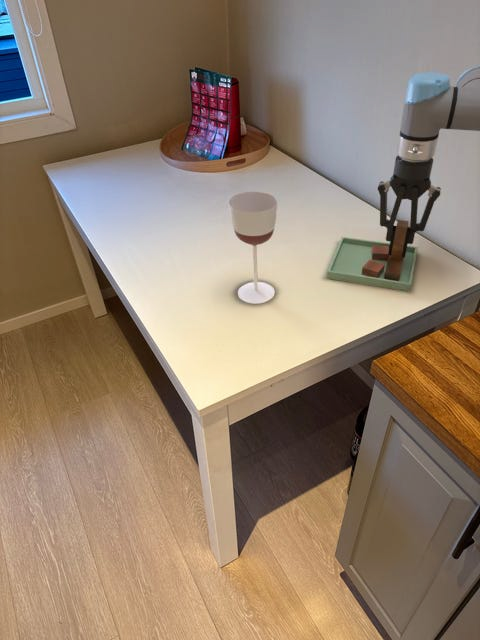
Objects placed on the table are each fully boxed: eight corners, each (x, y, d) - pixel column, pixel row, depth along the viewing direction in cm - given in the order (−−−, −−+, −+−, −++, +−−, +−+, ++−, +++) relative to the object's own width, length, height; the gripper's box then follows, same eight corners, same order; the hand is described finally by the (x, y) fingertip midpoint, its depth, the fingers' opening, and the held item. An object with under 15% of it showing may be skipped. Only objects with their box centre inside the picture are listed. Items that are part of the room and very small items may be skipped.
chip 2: (383, 271, 117) (385, 264, 116) (377, 279, 114) (378, 272, 113) (368, 266, 119) (369, 259, 118) (361, 274, 116) (362, 267, 115)
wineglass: (245, 277, 119) (240, 189, 104) (283, 286, 115) (284, 196, 100) (228, 298, 112) (220, 207, 98) (267, 308, 109) (266, 215, 94)
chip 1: (387, 252, 123) (388, 245, 122) (388, 261, 120) (389, 254, 119) (371, 251, 124) (372, 244, 123) (371, 260, 121) (372, 253, 120)
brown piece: (405, 252, 122) (413, 210, 115) (398, 282, 112) (407, 239, 105) (391, 250, 123) (398, 208, 116) (383, 280, 113) (390, 237, 106)
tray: (416, 253, 123) (417, 246, 122) (409, 291, 111) (411, 284, 110) (341, 243, 129) (341, 236, 128) (326, 278, 117) (327, 271, 115)
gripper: (374, 159, 100) (361, 256, 115) (453, 166, 96) (430, 266, 111) (379, 147, 106) (366, 241, 121) (455, 153, 101) (432, 250, 116)
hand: (397, 253), depth 116 cm, fingers closed on brown piece, 2 cm apart
